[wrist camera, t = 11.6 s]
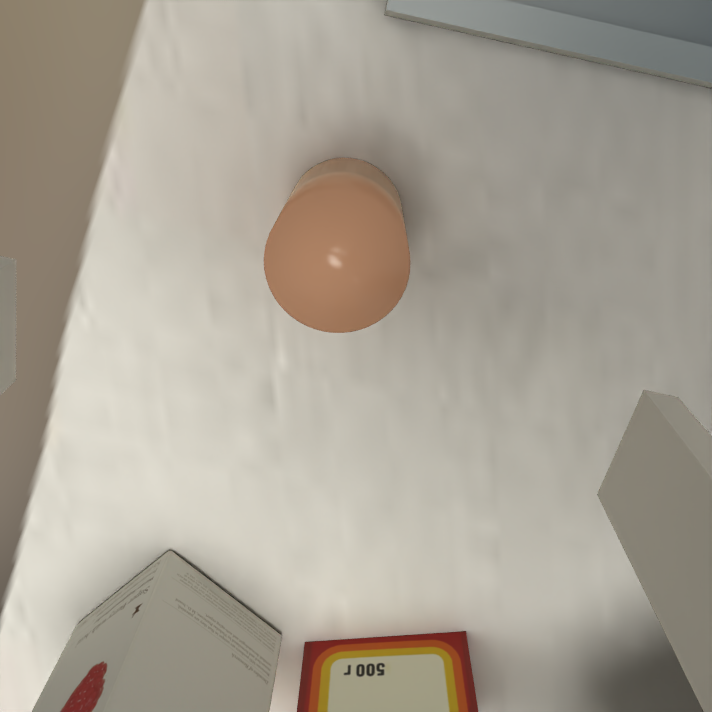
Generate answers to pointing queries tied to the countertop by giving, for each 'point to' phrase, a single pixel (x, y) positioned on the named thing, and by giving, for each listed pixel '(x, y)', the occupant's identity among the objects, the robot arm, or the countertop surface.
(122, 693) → the supplement box
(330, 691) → the baking soda box
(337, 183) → the terracotta cylinder
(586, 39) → the slate tote
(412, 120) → the countertop surface
